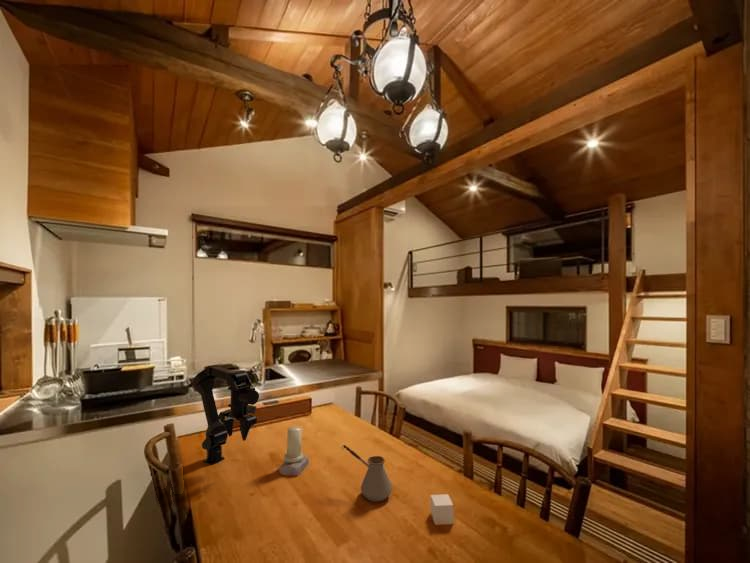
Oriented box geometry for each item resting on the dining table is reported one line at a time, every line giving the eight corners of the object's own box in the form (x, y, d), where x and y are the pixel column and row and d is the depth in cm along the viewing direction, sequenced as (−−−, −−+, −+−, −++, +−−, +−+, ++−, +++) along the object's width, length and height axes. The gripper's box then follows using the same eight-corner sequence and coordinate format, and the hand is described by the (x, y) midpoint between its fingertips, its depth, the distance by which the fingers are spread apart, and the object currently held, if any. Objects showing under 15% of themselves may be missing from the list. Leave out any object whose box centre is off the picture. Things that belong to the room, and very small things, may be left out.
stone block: (277, 479, 140) (300, 476, 138) (275, 467, 140) (298, 464, 139) (289, 466, 151) (310, 463, 150) (288, 455, 152) (308, 452, 150)
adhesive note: (430, 513, 114) (430, 494, 115) (448, 512, 115) (448, 494, 115) (435, 525, 108) (434, 505, 109) (453, 524, 109) (453, 504, 109)
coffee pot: (397, 492, 126) (397, 451, 127) (381, 509, 117) (381, 464, 117) (351, 477, 138) (351, 439, 138) (333, 490, 128) (333, 450, 129)
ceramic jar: (280, 461, 142) (282, 430, 144) (288, 454, 150) (289, 425, 151) (298, 463, 141) (299, 432, 142) (306, 456, 149) (306, 426, 150)
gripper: (267, 399, 148) (267, 436, 147) (239, 393, 157) (239, 427, 157) (245, 406, 138) (245, 445, 137) (217, 399, 148) (217, 436, 147)
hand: (237, 438), depth 145 cm, fingers open, 9 cm apart
